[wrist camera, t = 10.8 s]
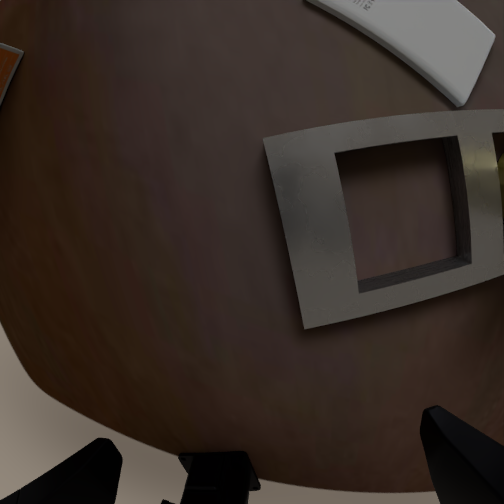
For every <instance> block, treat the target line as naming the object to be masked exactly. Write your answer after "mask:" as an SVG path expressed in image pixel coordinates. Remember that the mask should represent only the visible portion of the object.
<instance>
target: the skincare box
mask: <svg viewBox="0 0 504 504" xmlns="http://www.w3.org/2000/svg"><path fill="white" fill-rule="evenodd" d="M23 54H24V52H23V51H21V50H19V49H16V48H13V47H10V46H8V45H5V44H2V43H0V106H1V103H2V100H3V98H4V95H5V93H6V90H7V88H8V86H9V83H10V81H11V79H12V77H13V74H14V72H15V70H16V68H17V66H18V64H19V62H20V60H21V58H22V56H23Z"/></svg>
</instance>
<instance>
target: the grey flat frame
mask: <svg viewBox="0 0 504 504" xmlns="http://www.w3.org/2000/svg"><path fill="white" fill-rule="evenodd" d="M492 133H504V109H496V110H461V111H443V112H430V113H418V114H408V115H398V116H389V117H381V118H373V119H366V120H359V121H352V122H346V123H339V124H333V125H327V126H322V127H316V128H311V129H305V130H300V131H295V132H290V133H285V134H281V135H276V136H271V137H267V138H263V142H264V146H265V150H266V154H267V158H268V163H269V167H270V171H271V175H272V179H273V184H274V188H275V192H276V197H277V201H278V206H279V210H280V214H281V219H282V223H283V228H284V232H285V237H286V242H287V246H288V251H289V256H290V260H291V265H292V270H293V275H294V280H295V284H296V289H297V294H298V299H299V304H300V309H301V314H302V320H303V325H304V329H308V328H313V327H318V326H322V325H327V324H332V323H336V322H341V321H345V320H349V319H354V318H358V317H362V316H366V315H370V314H374V313H378V312H382V311H386V310H390V309H394V308H397V307H401V306H405V305H409V304H412V303H416V302H419V301H423V300H426V299H430V298H433V297H437V296H440V295H443V294H446V293H450V292H453V291H456V290H459V289H462V288H466V287H469V286H472V285H475V284H478V283H481V282H484V281H487V280H490V279H492V278H495V277H498V276H501V275H504V242H503V216H502V202H501V191H500V182H499V174H498V167H497V160H496V154H495V148H494V143H493V137H492ZM436 138H442V139H443V144H444V149H445V154H446V160H447V165H448V171H449V178H450V184H451V192H452V200H453V208H454V218H455V230H456V244H457V256H455V257H451V258H447V259H444V260H440V261H436V262H432V263H429V264H425V265H421V266H417V267H413V268H409V269H405V270H401V271H397V272H393V273H389V274H385V275H381V276H377V277H372V278H368V279H364V280H360V281H357V275H356V268H355V261H354V254H353V248H352V242H351V235H350V229H349V224H348V218H347V213H346V207H345V202H344V197H343V192H342V187H341V182H340V177H339V172H338V168H337V163H336V159H335V153H341V152H347V151H352V150H358V149H364V148H370V147H377V146H383V145H390V144H397V143H404V142H412V141H420V140H428V139H436Z"/></svg>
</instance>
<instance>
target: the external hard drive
mask: <svg viewBox="0 0 504 504" xmlns="http://www.w3.org/2000/svg"><path fill="white" fill-rule="evenodd" d="M306 1H308V2H310V3H312V4H314V5H316V6H318V7H320V8H321V9H323V10H325V11H327V12H329V13H330V14H332V15H334V16H336V17H337V18H339V19H341V20H343V21H344V22H346V23H348V24H349V25H351V26H353V27H354V28H356V29H357V30H359V31H360V32H362V33H364V34H365V35H367V36H368V37H370V38H371V39H373V40H374V41H376V42H377V43H379V44H380V45H382V46H383V47H384V48H386V49H387V50H389V51H390V52H392V53H393V54H394V55H396V56H397V57H398V58H400V59H401V60H402V61H404V62H405V63H406V64H408V65H409V66H410V67H411V68H413V69H414V70H415V71H416V72H418V73H419V74H420V75H421V76H423V77H424V78H425V79H426V80H427V81H429V82H430V83H431V84H432V85H433V86H434V87H436V88H437V89H438V90H439V91H440V92H441V93H442V94H444V95H445V96H446V97H447V98H448V99H449V100H450V101H451V102H452V103H453V104H454V105H455V106H456V107H460V106H463V105H464V104H465V103H466V101H467V99H468V97H469V95H470V93H471V91H472V89H473V87H474V85H475V83H476V81H477V78H478V76H479V74H480V72H481V70H482V67H483V65H484V63H485V61H486V59H487V56H488V54H489V52H490V49H491V47H492V44H493V42H494V39H495V34H494V33H493V32H492V31H491V30H490V29H488V28H487V27H486V26H485V25H484V24H483V23H482V22H481V21H480V20H479V19H478V18H477V17H476V16H474V15H473V14H472V13H471V12H470V11H469V10H467V9H466V8H465V7H464V6H463V5H462V4H460V3H459V2H458V1H457V0H306Z"/></svg>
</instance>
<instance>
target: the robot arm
mask: <svg viewBox="0 0 504 504" xmlns="http://www.w3.org/2000/svg"><path fill="white" fill-rule="evenodd" d="M420 436H421V440H422V444H423V447H424V451H425V455H426V459H427V463H428V467H429V472H430V475H431V479H432V482H433V485H434V488H435V491H436V493H437V496H438V499H439V501H440V504H504V446H503V445H501V444H499V443H498V442H496V441H495V440H493V439H491V438H490V437H488V436H486V435H485V434H483V433H482V432H480V431H478V430H477V429H475V428H474V427H472V426H470V425H469V424H467V423H466V422H464V421H463V420H461V419H459V418H458V417H456V416H455V415H453V414H452V413H450V412H448V411H447V410H445V409H444V408H442V407H441V406H438V405H435V406H432V407H429V408H426V409H424V411H423V414H422V420H421V425H420ZM178 459H179V460H180V462H181V464H182V465H183V467H184V469H185V470H186V472H187V473H188V477H187V480H186V484H185V489H184V492H183V495H182V499H181V502H180V504H248V497H249V491H257V490H260V488H261V487H260V486H261V485H260V482H259V480H258V478H257V476H256V473H255V471H254V469H253V466H252V464H251V462H250V459H249V457H248V455H247V453H246V452H244V451H233V452H212V453H180V454H179V457H178ZM121 467H122V455H121V454H120V452H119V451H118V449H117V448H116V446H115V445H114V444H113V442H112V441H111V440H110V439H107V438H97V439H95V440H94V441H92V442H91V443H89V444H88V445H87V446H85V447H84V448H82V449H81V450H79V451H78V452H76V453H75V454H73V455H72V456H70V457H69V458H67V459H66V460H64V461H63V462H61V463H60V464H58V465H57V466H55V467H54V468H52V469H51V470H49V471H48V472H46V473H44V474H43V475H42V476H40V477H38V478H37V479H35V480H33V481H32V482H30V483H29V484H27V485H25V486H24V487H22V488H21V489H19V490H17V491H16V492H14V493H12V494H11V495H9V496H7V497H5V498H4V499H2V500H0V504H114V503H115V500H116V495H117V488H118V483H119V478H120V472H121ZM161 504H174V503H171V502H169V501H167V500H164V499H163V500H162V503H161Z"/></svg>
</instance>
